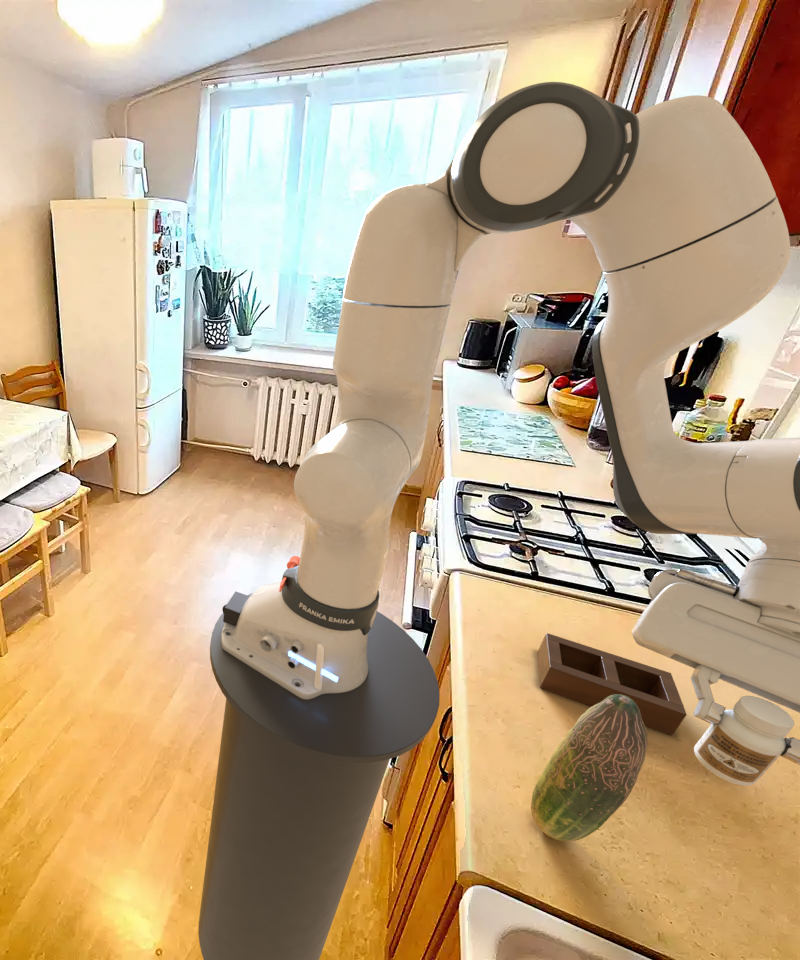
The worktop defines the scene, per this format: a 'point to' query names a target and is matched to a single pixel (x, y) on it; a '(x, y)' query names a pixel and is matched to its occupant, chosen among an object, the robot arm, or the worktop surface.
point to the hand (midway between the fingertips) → (747, 740)
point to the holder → (609, 681)
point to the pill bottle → (745, 741)
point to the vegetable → (591, 770)
